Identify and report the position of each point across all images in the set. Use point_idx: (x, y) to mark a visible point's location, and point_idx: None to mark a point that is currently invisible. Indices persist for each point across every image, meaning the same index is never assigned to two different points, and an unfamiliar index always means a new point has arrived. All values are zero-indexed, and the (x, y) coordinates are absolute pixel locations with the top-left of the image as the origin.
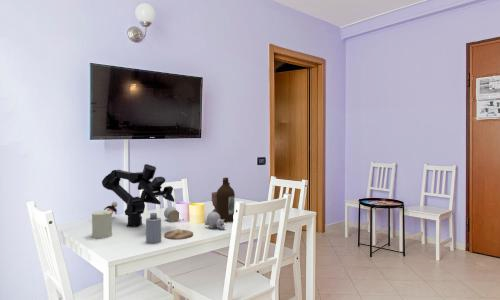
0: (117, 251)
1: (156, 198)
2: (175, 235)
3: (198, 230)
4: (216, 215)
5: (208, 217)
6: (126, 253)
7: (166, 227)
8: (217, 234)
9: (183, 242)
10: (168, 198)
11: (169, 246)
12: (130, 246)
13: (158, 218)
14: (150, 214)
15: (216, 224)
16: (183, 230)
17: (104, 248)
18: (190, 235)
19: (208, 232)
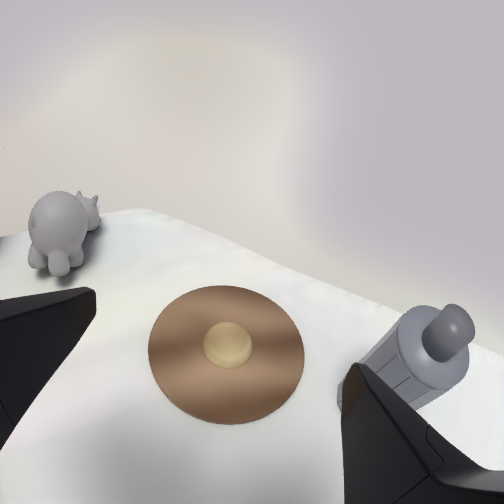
0: (489, 408)
1: (402, 421)
2: (264, 345)
3: (112, 298)
4: (73, 195)
5: (72, 227)
6: (481, 372)
7: (89, 486)
8: (162, 224)
9: (311, 286)
10: (18, 390)
11: (373, 306)
12: (451, 421)
13: (413, 327)
14: (473, 331)
15: (88, 226)
16: (156, 350)
17: (495, 465)
18: (234, 286)
19: (139, 254)
